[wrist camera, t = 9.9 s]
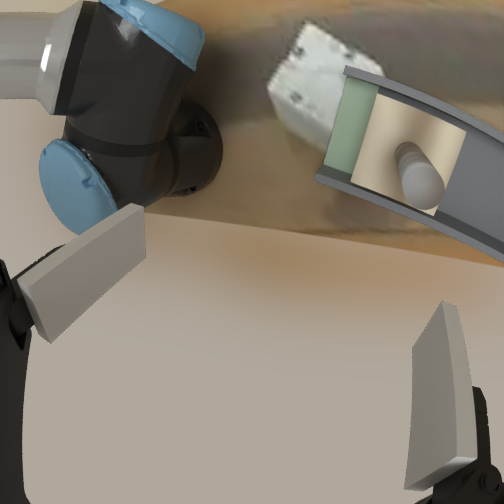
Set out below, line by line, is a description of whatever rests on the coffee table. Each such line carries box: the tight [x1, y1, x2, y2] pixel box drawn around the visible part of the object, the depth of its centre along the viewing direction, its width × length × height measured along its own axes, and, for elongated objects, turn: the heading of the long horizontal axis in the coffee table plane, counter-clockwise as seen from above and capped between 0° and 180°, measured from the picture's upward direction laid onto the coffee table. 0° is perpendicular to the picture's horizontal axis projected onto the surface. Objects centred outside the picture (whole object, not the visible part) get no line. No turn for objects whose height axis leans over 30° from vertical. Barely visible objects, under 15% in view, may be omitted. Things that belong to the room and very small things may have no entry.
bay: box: [314, 65, 504, 263], centre depth 31 cm, size 30×14×6 cm, turn 77°
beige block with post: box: [350, 93, 466, 216], centre depth 26 cm, size 10×10×19 cm
